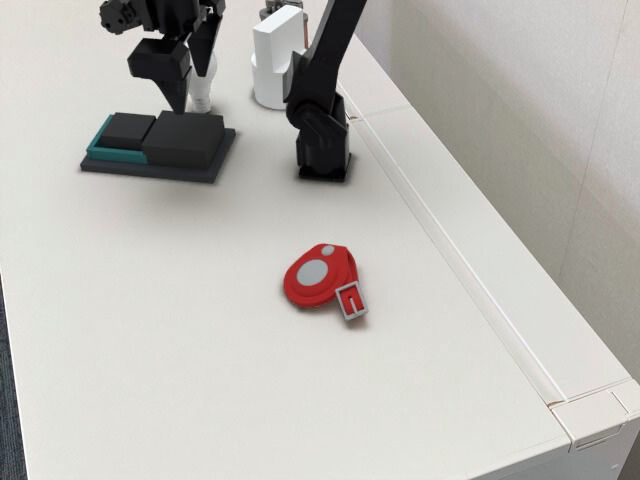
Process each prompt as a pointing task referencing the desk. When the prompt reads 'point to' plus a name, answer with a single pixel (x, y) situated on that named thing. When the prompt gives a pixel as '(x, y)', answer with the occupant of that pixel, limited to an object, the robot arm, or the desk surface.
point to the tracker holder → (326, 280)
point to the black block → (127, 131)
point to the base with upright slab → (275, 53)
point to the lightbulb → (202, 86)
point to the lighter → (278, 2)
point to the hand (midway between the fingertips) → (191, 94)
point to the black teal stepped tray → (168, 149)
